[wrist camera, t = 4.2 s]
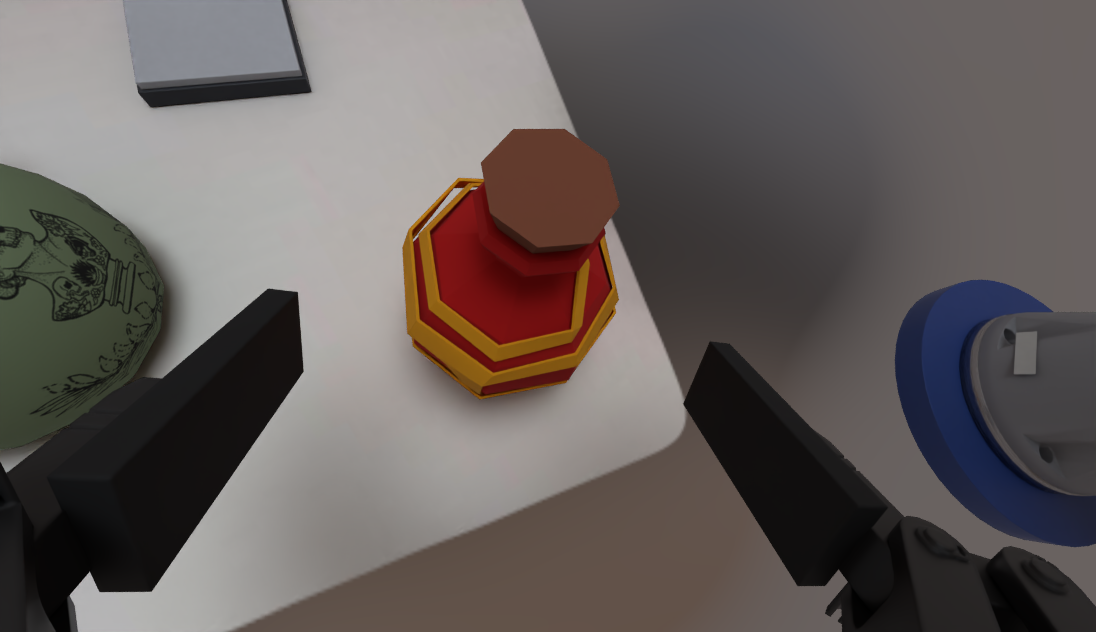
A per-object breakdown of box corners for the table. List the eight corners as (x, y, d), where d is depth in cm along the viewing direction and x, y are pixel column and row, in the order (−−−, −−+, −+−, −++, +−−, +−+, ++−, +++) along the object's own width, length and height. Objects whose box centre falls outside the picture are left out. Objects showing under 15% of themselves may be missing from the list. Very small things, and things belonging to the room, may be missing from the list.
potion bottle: (606, 353, 27) (773, 251, 13) (466, 446, 23) (492, 443, 9) (519, 224, 28) (587, 8, 14) (375, 294, 25) (281, 95, 11)
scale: (284, -9, 30) (275, -33, 28) (311, 92, 28) (303, 72, 26) (132, -5, 27) (113, -31, 26) (150, 107, 25) (131, 86, 24)
